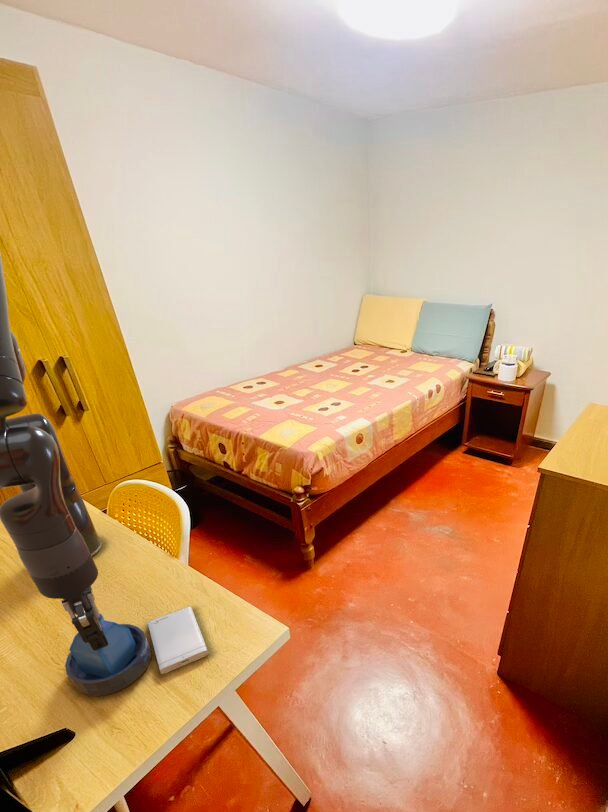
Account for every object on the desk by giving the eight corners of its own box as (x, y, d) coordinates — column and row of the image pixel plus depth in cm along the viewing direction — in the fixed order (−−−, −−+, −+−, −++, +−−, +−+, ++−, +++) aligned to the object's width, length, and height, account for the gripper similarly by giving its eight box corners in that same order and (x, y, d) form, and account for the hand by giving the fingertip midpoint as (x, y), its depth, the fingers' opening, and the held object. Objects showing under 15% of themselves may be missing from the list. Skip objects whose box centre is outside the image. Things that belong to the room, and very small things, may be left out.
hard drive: (146, 622, 82) (159, 669, 74) (191, 605, 86) (207, 649, 78) (149, 627, 83) (161, 675, 75) (192, 611, 87) (209, 654, 78)
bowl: (69, 659, 76) (60, 645, 74) (142, 627, 83) (136, 613, 80) (80, 710, 69) (71, 697, 66) (159, 671, 75) (154, 658, 73)
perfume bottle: (114, 679, 72) (90, 634, 65) (82, 672, 73) (55, 626, 66) (138, 650, 77) (118, 605, 70) (108, 643, 78) (85, 598, 71)
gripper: (97, 576, 59) (132, 652, 68) (80, 525, 68) (113, 598, 77) (31, 600, 55) (78, 676, 64) (22, 542, 64) (65, 616, 73)
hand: (97, 633), depth 71 cm, fingers closed on perfume bottle, 5 cm apart
